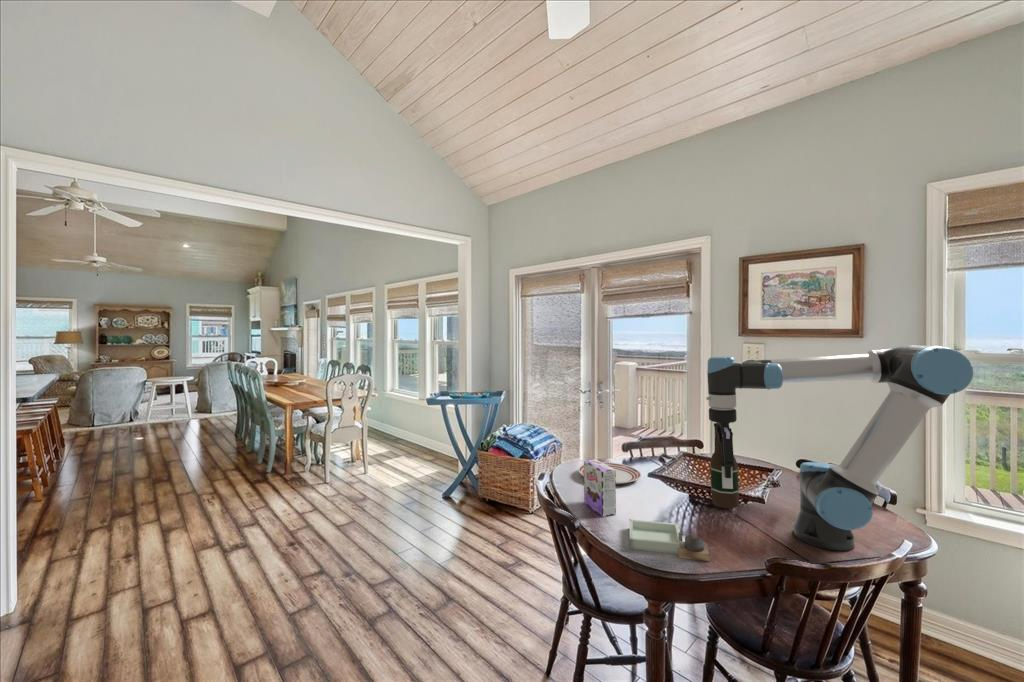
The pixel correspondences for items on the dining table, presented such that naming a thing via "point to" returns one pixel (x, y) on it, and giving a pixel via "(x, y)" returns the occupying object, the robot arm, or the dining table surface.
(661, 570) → the dining table surface
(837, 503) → the robot arm
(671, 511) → the dining table surface
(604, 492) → the candy box
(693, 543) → the grey stone on stand
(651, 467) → the dining table surface
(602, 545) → the dining table surface
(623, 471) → the dinner plate
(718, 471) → the beer bottle
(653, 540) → the tray
